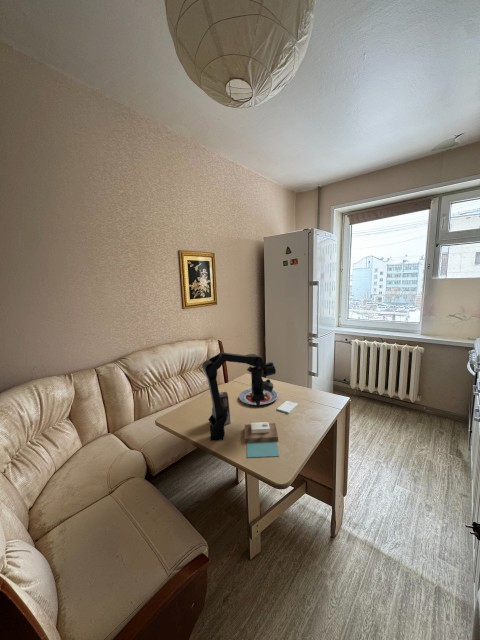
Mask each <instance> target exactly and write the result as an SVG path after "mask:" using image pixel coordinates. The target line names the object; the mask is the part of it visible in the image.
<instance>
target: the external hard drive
mask: <svg viewBox="0 0 480 640" xmlns="http://www.w3.org/2000/svg"><path fill="white" fill-rule="evenodd" d="M298 406H299V403H297V402H293V401H289V400H286V401H284V403H282V404H281V405H280V406H278V407H277V408H276V411H278V412H282V413H284V414H288V415H289V414H291V412H293V410H295V409H296V408H297V407H298Z"/></svg>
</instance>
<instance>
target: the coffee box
mask: <svg viewBox="0 0 480 640" xmlns="http://www.w3.org/2000/svg"><path fill="white" fill-rule="evenodd" d="M219 395H220V400H221V404H223V405H224V406H225V408H226V409H227V415H228V416H227V420H226V422H225V424H224V425H227V424H231V423H232V422H231V414H230V413H231V412H230V403H229V394H228V392H227V391H222V392H219ZM211 405H212V406H213V403H212V402H211Z"/></svg>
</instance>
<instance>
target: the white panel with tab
mask: <svg viewBox="0 0 480 640" xmlns="http://www.w3.org/2000/svg"><path fill="white" fill-rule="evenodd" d="M269 423H270V422H269V421H264V422H263V421H262V422H251V423H250V424H251V429H252V433H268V432H270V427H269Z"/></svg>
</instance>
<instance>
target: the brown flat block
mask: <svg viewBox="0 0 480 640" xmlns="http://www.w3.org/2000/svg"><path fill="white" fill-rule="evenodd" d="M276 425H277V424H276V423H275V422H271V423H270V422H269V427H270V432H268V433H252V429H251V423H250V424H244V444H247V443H254V442H274V441H276V442H279V436H278V432H277V426H276Z"/></svg>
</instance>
